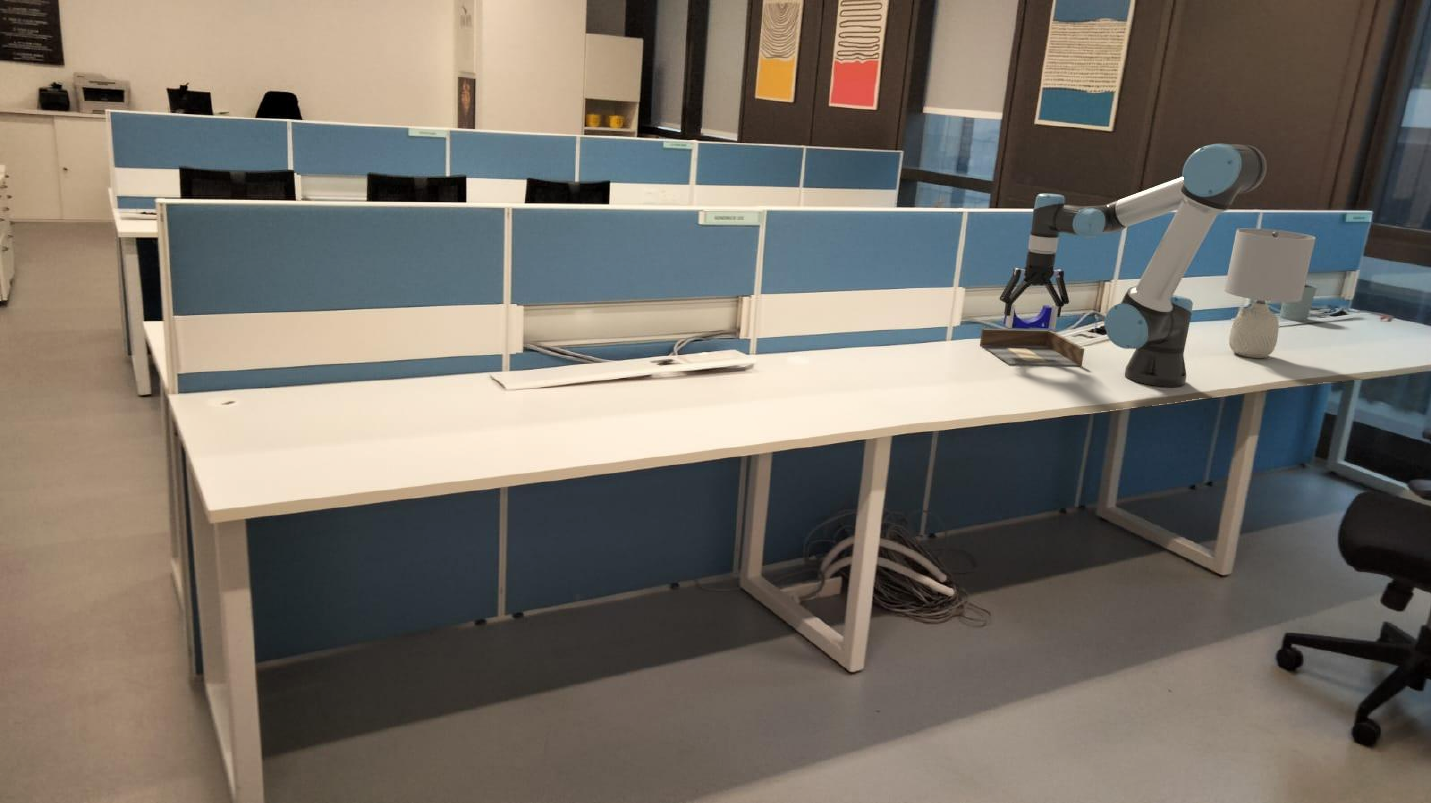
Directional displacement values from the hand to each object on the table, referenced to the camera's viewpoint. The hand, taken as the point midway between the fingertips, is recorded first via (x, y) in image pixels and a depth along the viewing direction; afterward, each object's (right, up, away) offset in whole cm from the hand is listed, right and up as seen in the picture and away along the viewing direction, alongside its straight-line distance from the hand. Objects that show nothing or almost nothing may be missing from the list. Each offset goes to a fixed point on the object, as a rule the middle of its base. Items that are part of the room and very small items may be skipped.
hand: (1030, 327), depth 292 cm
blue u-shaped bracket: (0, 0, +3) cm, 3 cm away
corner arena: (+1, -8, +3) cm, 9 cm away
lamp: (+71, -7, +19) cm, 74 cm away
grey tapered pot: (+116, +8, +75) cm, 138 cm away
